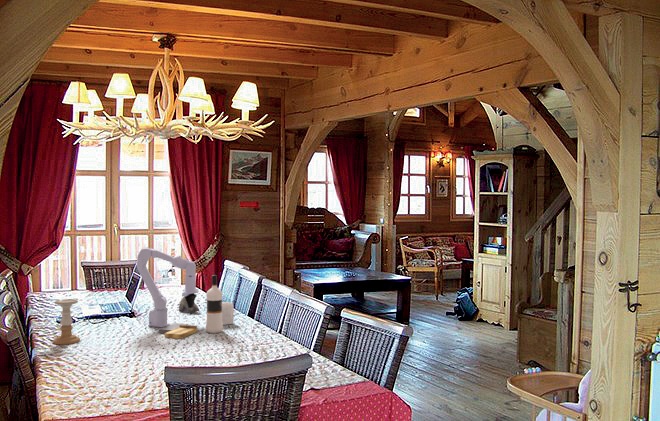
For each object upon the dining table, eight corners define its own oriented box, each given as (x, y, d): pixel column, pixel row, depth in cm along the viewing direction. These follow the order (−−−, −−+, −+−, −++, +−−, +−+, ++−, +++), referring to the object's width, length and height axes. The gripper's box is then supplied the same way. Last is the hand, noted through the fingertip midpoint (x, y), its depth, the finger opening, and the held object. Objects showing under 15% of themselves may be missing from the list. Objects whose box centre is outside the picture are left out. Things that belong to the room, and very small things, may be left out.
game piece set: (250, 362, 273) (250, 353, 273) (215, 356, 284) (215, 347, 284) (277, 353, 290) (277, 344, 290) (243, 347, 300) (243, 339, 300)
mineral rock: (200, 313, 380) (200, 297, 380) (182, 315, 375) (182, 298, 375) (195, 310, 392) (195, 294, 391) (177, 311, 387) (177, 295, 387)
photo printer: (231, 322, 354) (231, 300, 354) (234, 324, 350) (234, 302, 350) (214, 324, 348) (214, 302, 348) (217, 326, 345) (217, 303, 344)
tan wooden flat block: (164, 337, 318) (164, 330, 318) (181, 330, 333) (181, 324, 333) (181, 338, 315) (181, 332, 315) (196, 331, 330) (196, 325, 330)
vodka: (204, 330, 334) (204, 274, 333) (221, 329, 337) (221, 273, 336) (207, 334, 325) (207, 276, 324) (224, 332, 329) (224, 275, 328)
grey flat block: (158, 332, 327) (158, 328, 327) (174, 326, 343) (174, 322, 343) (172, 334, 325) (172, 330, 325) (187, 327, 340) (187, 323, 340)
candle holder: (85, 340, 311) (85, 299, 310) (67, 345, 299) (67, 303, 299) (65, 338, 315) (65, 298, 314) (47, 343, 303) (46, 302, 303)
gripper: (190, 285, 340) (190, 310, 340) (203, 281, 354) (203, 305, 354) (178, 284, 342) (178, 309, 343) (192, 281, 356) (192, 305, 356)
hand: (190, 307), depth 349 cm, fingers closed
